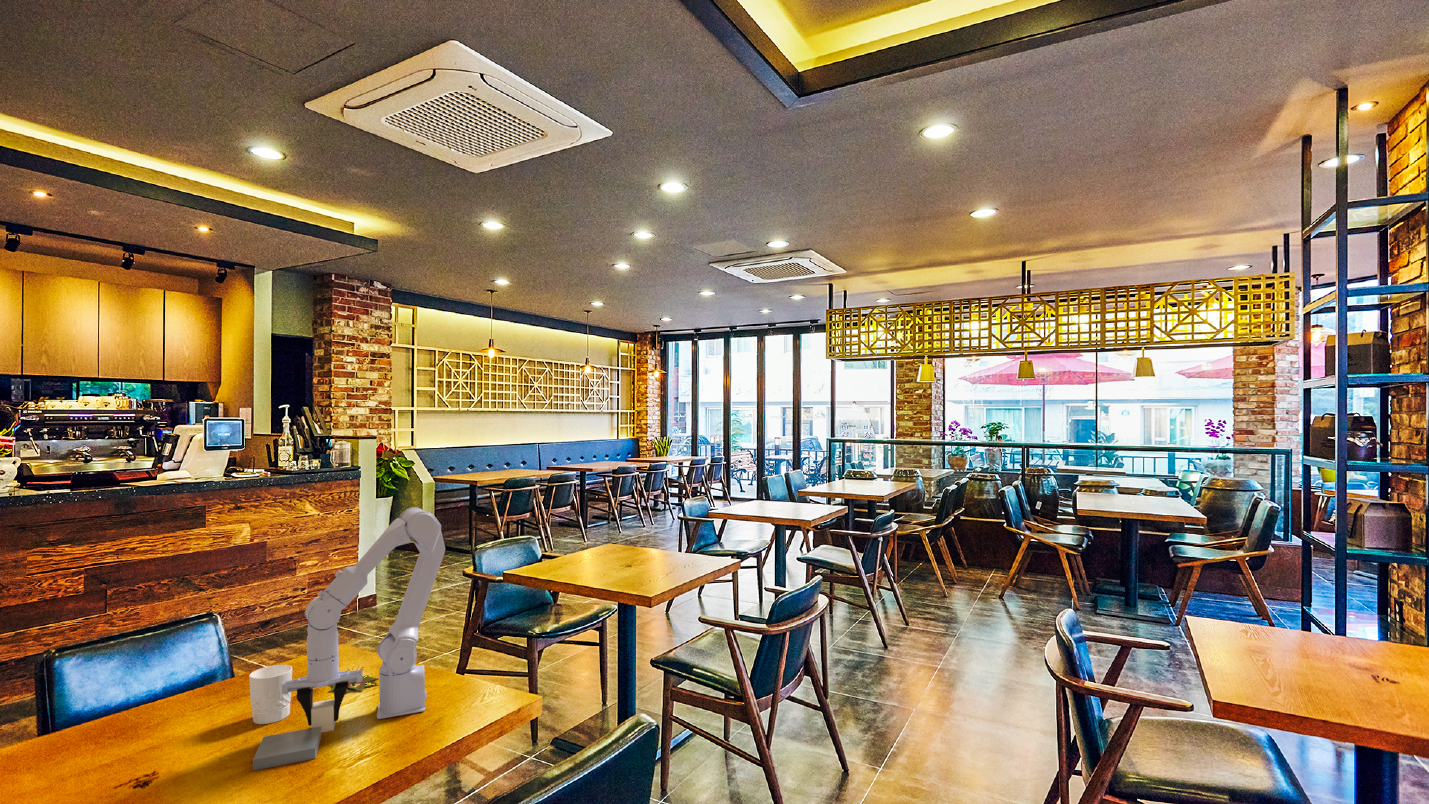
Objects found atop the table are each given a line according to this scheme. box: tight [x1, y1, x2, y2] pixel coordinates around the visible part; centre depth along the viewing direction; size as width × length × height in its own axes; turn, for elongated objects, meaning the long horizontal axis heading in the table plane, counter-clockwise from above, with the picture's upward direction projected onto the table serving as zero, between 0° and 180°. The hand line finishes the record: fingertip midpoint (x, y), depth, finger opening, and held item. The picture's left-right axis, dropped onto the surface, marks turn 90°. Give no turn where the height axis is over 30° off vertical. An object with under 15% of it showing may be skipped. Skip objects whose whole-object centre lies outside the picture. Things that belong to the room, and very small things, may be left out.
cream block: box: [310, 698, 337, 733], centre depth 144 cm, size 4×4×5 cm
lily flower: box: [327, 665, 379, 693], centre depth 166 cm, size 12×12×5 cm
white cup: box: [248, 664, 293, 725], centre depth 149 cm, size 8×8×10 cm
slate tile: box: [252, 727, 323, 771], centre depth 133 cm, size 10×10×2 cm
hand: (323, 721), depth 144 cm, fingers closed on cream block, 4 cm apart
